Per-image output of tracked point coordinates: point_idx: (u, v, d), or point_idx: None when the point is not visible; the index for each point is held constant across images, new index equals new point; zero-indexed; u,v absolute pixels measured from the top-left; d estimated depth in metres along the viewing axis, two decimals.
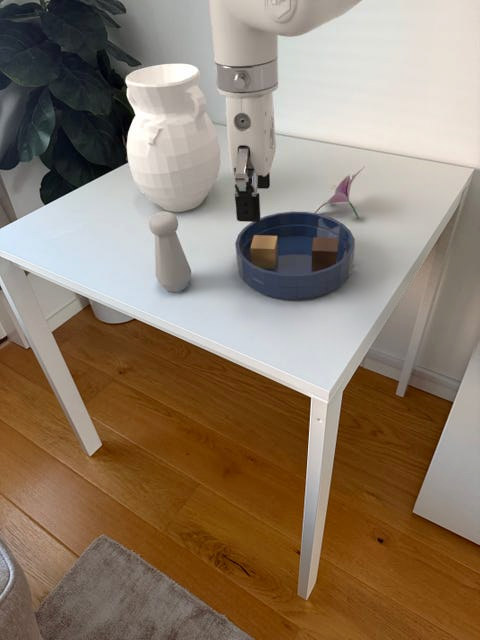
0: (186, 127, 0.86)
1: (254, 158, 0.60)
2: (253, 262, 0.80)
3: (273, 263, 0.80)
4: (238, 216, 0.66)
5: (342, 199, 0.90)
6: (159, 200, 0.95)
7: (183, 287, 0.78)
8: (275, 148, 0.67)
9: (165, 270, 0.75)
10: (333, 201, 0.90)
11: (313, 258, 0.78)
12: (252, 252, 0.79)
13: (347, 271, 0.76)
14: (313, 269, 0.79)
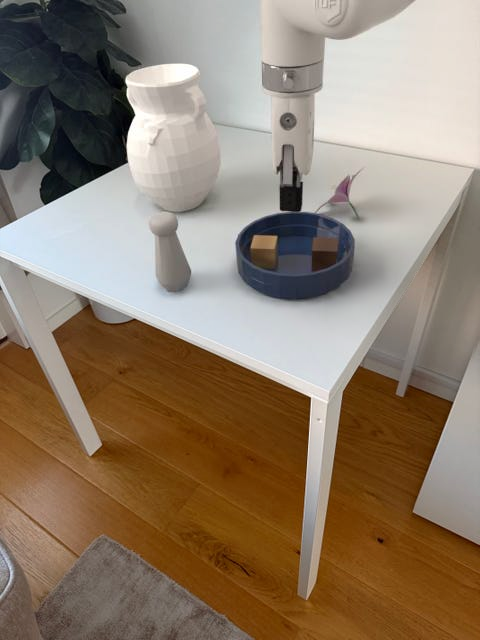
0: (186, 127, 0.86)
1: (297, 157, 0.61)
2: (253, 262, 0.80)
3: (273, 263, 0.80)
4: (281, 206, 0.71)
5: (342, 199, 0.90)
6: (159, 200, 0.95)
7: (183, 287, 0.78)
8: (313, 147, 0.68)
9: (165, 270, 0.75)
10: (333, 201, 0.90)
11: (313, 258, 0.78)
12: (252, 252, 0.79)
13: (347, 271, 0.76)
14: (313, 269, 0.79)
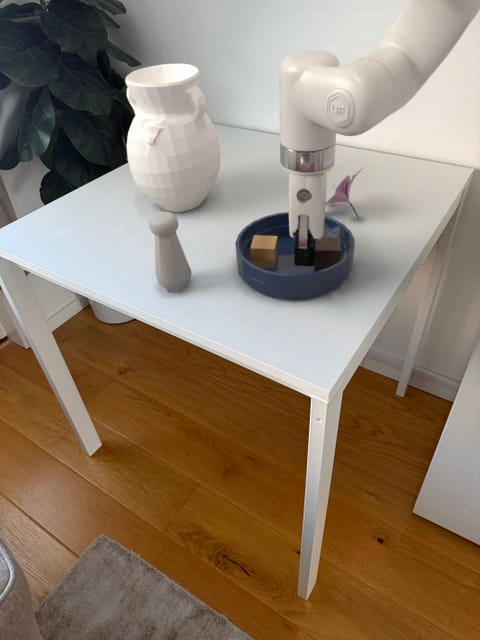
0: (186, 127, 0.86)
1: (312, 225, 0.68)
2: (253, 262, 0.80)
3: (273, 263, 0.80)
4: (295, 261, 0.78)
5: (342, 199, 0.90)
6: (159, 200, 0.95)
7: (183, 287, 0.78)
8: None
9: (165, 270, 0.75)
10: (333, 201, 0.90)
11: (316, 258, 0.78)
12: (252, 252, 0.79)
13: (347, 271, 0.76)
14: (316, 269, 0.79)
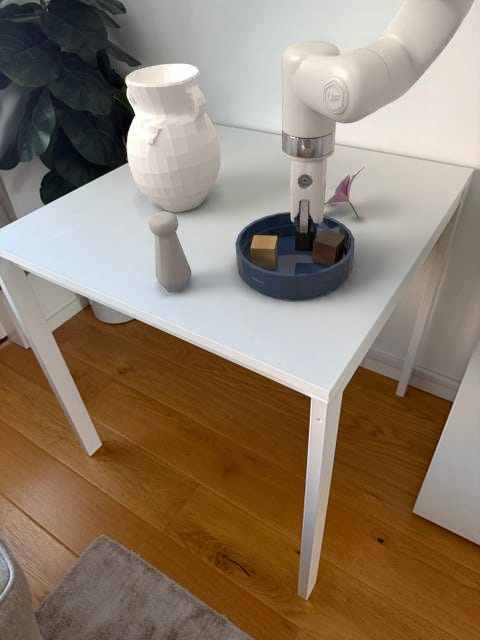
0: (186, 127, 0.86)
1: (312, 210, 0.71)
2: (253, 262, 0.80)
3: (273, 263, 0.80)
4: (296, 247, 0.80)
5: (342, 199, 0.90)
6: (159, 200, 0.95)
7: (183, 287, 0.78)
8: None
9: (165, 270, 0.75)
10: (333, 201, 0.90)
11: (314, 248, 0.79)
12: (252, 252, 0.79)
13: (347, 271, 0.76)
14: (313, 260, 0.81)
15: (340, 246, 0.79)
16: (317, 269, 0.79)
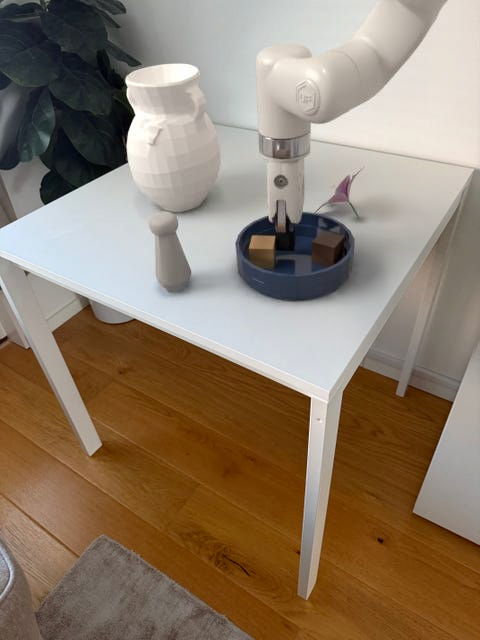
0: (186, 127, 0.86)
1: (289, 210, 0.72)
2: (252, 263, 0.80)
3: (272, 263, 0.80)
4: (277, 246, 0.81)
5: (342, 199, 0.90)
6: (159, 200, 0.95)
7: (183, 287, 0.78)
8: None
9: (165, 270, 0.75)
10: (333, 201, 0.90)
11: (313, 249, 0.79)
12: (250, 253, 0.79)
13: (347, 271, 0.76)
14: (313, 260, 0.81)
15: (339, 246, 0.79)
16: (317, 269, 0.79)
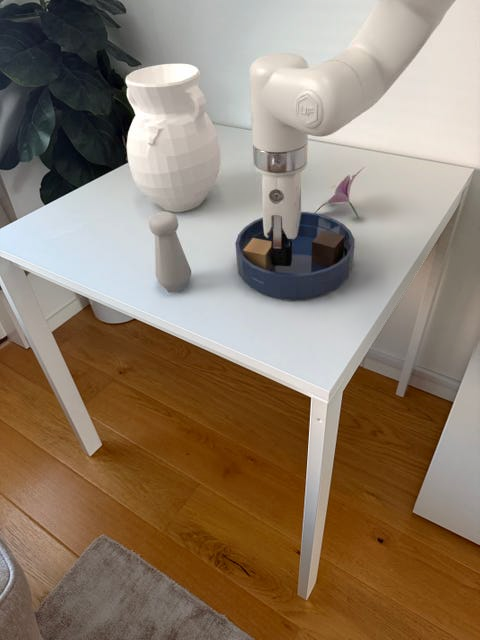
0: (186, 127, 0.86)
1: (285, 225, 0.69)
2: None
3: (264, 269, 0.79)
4: (273, 261, 0.79)
5: (342, 199, 0.90)
6: (159, 200, 0.95)
7: (183, 287, 0.78)
8: None
9: (165, 270, 0.75)
10: (333, 201, 0.90)
11: (313, 249, 0.79)
12: (244, 255, 0.79)
13: (347, 271, 0.76)
14: (313, 260, 0.81)
15: (339, 246, 0.79)
16: (317, 269, 0.79)
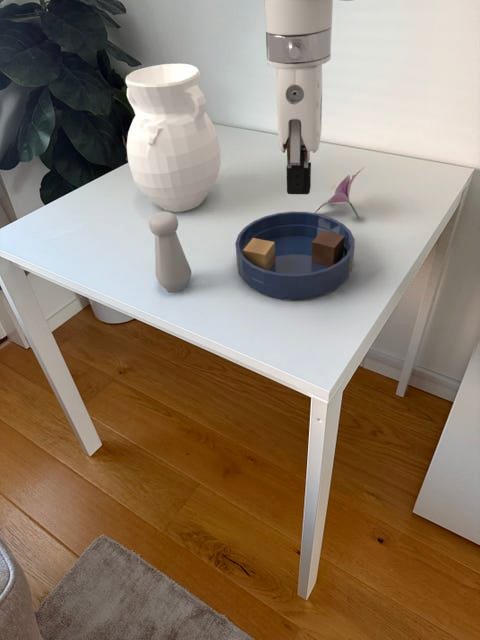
0: (186, 127, 0.86)
1: (305, 133, 0.58)
2: None
3: (264, 269, 0.79)
4: (288, 189, 0.67)
5: (342, 199, 0.90)
6: (159, 200, 0.95)
7: (183, 287, 0.78)
8: (321, 126, 0.65)
9: (165, 270, 0.75)
10: (333, 201, 0.90)
11: (313, 249, 0.79)
12: (244, 255, 0.79)
13: (347, 271, 0.76)
14: (313, 260, 0.81)
15: (339, 246, 0.79)
16: (317, 269, 0.79)
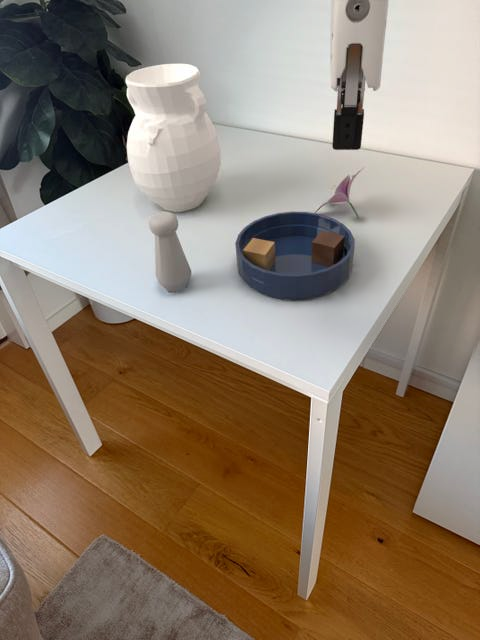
0: (186, 127, 0.86)
1: (367, 62, 0.45)
2: None
3: (264, 269, 0.79)
4: (334, 143, 0.55)
5: (342, 199, 0.90)
6: (159, 200, 0.95)
7: (183, 287, 0.78)
8: None
9: (165, 270, 0.75)
10: (333, 201, 0.90)
11: (313, 249, 0.79)
12: (244, 255, 0.79)
13: (347, 271, 0.76)
14: (313, 260, 0.81)
15: (339, 246, 0.79)
16: (317, 269, 0.79)
